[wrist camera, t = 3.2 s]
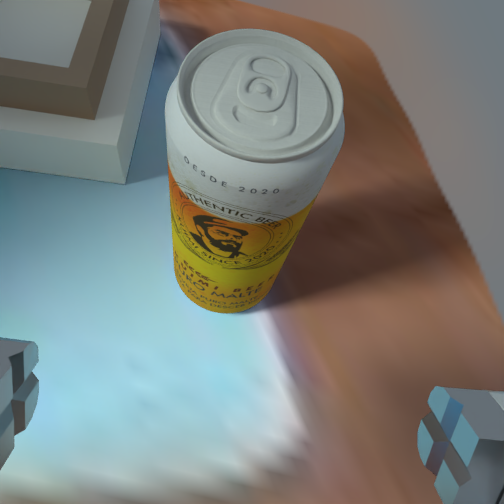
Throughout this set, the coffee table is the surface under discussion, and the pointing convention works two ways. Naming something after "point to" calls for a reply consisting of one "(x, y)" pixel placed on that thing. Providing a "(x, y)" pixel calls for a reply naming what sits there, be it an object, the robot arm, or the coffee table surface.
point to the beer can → (246, 160)
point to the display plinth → (74, 84)
